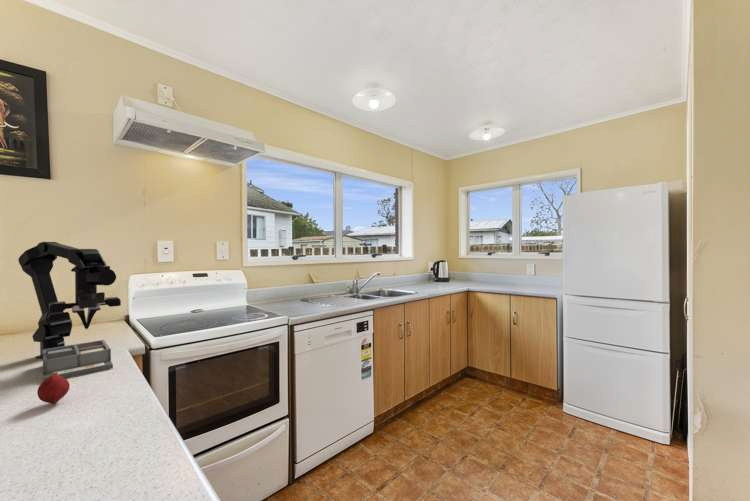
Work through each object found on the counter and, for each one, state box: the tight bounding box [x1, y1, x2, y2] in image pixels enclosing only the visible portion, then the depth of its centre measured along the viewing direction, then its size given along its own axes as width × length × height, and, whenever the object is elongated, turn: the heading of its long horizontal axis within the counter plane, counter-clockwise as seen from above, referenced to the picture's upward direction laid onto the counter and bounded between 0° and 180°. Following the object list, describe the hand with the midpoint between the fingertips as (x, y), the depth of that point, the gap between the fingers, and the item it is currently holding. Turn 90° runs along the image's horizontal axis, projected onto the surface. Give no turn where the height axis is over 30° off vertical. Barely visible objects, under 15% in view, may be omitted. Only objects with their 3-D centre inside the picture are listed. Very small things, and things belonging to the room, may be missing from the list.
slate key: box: [48, 348, 73, 354], centre depth 111 cm, size 6×6×2 cm
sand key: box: [80, 348, 104, 354], centre depth 111 cm, size 6×6×2 cm
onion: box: [36, 372, 70, 405], centre depth 84 cm, size 6×6×8 cm
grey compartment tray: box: [42, 339, 114, 381], centre depth 109 cm, size 20×16×6 cm
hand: (86, 328), depth 116 cm, fingers closed
